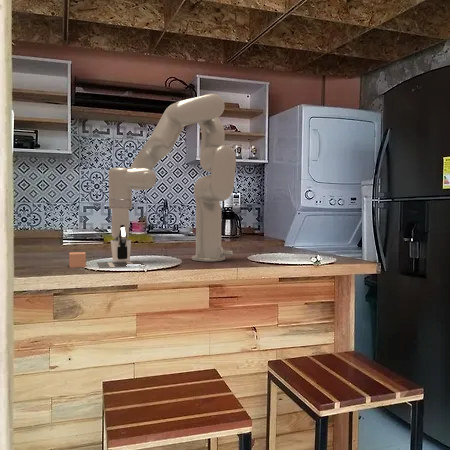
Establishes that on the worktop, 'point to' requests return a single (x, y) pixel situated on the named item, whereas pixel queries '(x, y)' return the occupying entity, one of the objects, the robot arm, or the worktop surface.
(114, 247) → the beige tapered cup
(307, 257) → the worktop surface
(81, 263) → the terracotta block
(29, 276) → the worktop surface
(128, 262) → the letter mat
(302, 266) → the worktop surface
